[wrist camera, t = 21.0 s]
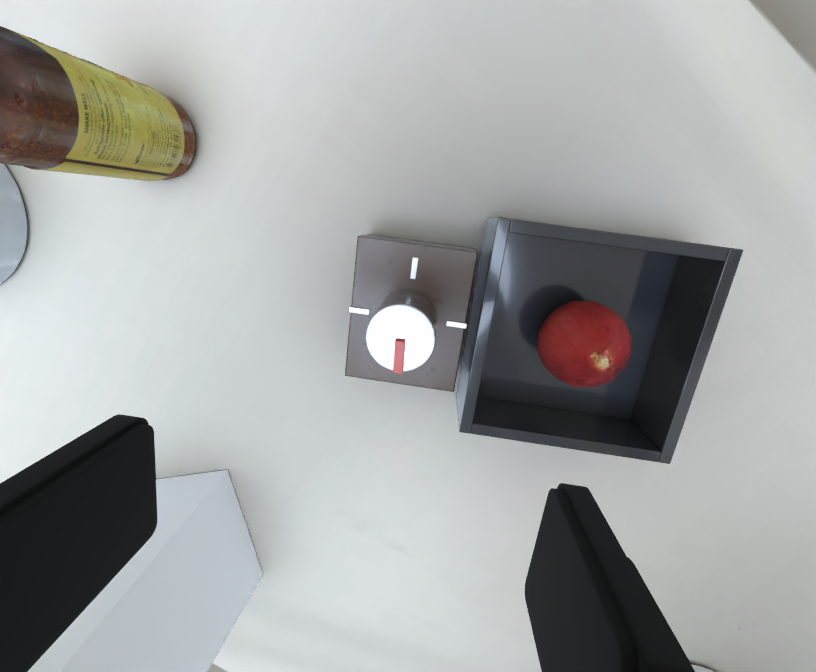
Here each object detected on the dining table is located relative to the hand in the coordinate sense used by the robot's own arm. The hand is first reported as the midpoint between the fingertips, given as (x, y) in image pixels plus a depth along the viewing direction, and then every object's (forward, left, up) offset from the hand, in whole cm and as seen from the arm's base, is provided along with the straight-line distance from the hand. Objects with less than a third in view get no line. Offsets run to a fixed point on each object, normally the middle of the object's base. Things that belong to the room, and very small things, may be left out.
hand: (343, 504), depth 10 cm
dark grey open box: (-12, 0, -24) cm, 27 cm away
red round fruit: (-12, 0, -24) cm, 26 cm away
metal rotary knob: (0, 0, -20) cm, 20 cm away
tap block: (0, 0, -24) cm, 24 cm away
